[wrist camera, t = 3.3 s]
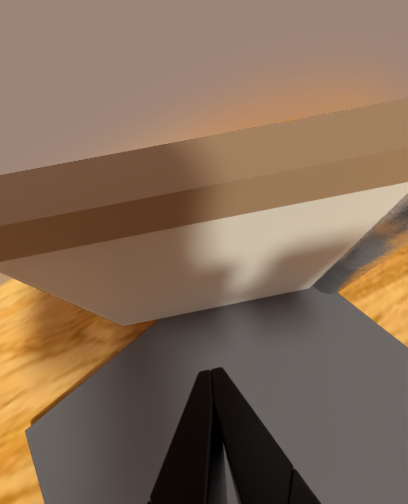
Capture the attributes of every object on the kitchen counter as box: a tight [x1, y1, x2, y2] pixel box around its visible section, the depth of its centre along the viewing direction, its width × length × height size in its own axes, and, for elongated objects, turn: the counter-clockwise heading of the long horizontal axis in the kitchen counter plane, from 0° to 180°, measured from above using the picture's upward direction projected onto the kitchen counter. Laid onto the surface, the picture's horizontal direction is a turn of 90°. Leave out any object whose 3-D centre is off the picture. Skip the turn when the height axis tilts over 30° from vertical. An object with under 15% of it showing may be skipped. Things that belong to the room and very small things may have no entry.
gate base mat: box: [25, 285, 408, 504], centre depth 11 cm, size 16×20×1 cm
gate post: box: [313, 193, 408, 294], centre depth 9 cm, size 3×3×14 cm
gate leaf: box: [0, 99, 408, 326], centre depth 10 cm, size 13×2×11 cm, turn 100°
